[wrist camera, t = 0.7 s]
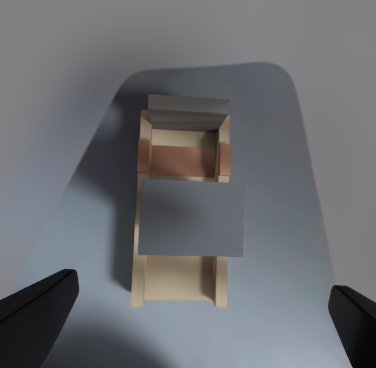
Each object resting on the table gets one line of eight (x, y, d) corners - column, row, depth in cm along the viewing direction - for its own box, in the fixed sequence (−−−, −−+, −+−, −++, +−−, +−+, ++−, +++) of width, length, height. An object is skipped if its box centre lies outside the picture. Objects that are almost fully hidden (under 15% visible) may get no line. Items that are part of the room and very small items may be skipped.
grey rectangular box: (210, 233, 22) (242, 256, 12) (152, 232, 22) (137, 255, 12) (211, 192, 23) (243, 182, 13) (154, 190, 22) (141, 178, 12)
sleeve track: (221, 294, 24) (240, 327, 17) (133, 294, 23) (119, 328, 17) (224, 126, 25) (243, 99, 19) (142, 121, 25) (133, 91, 18)
